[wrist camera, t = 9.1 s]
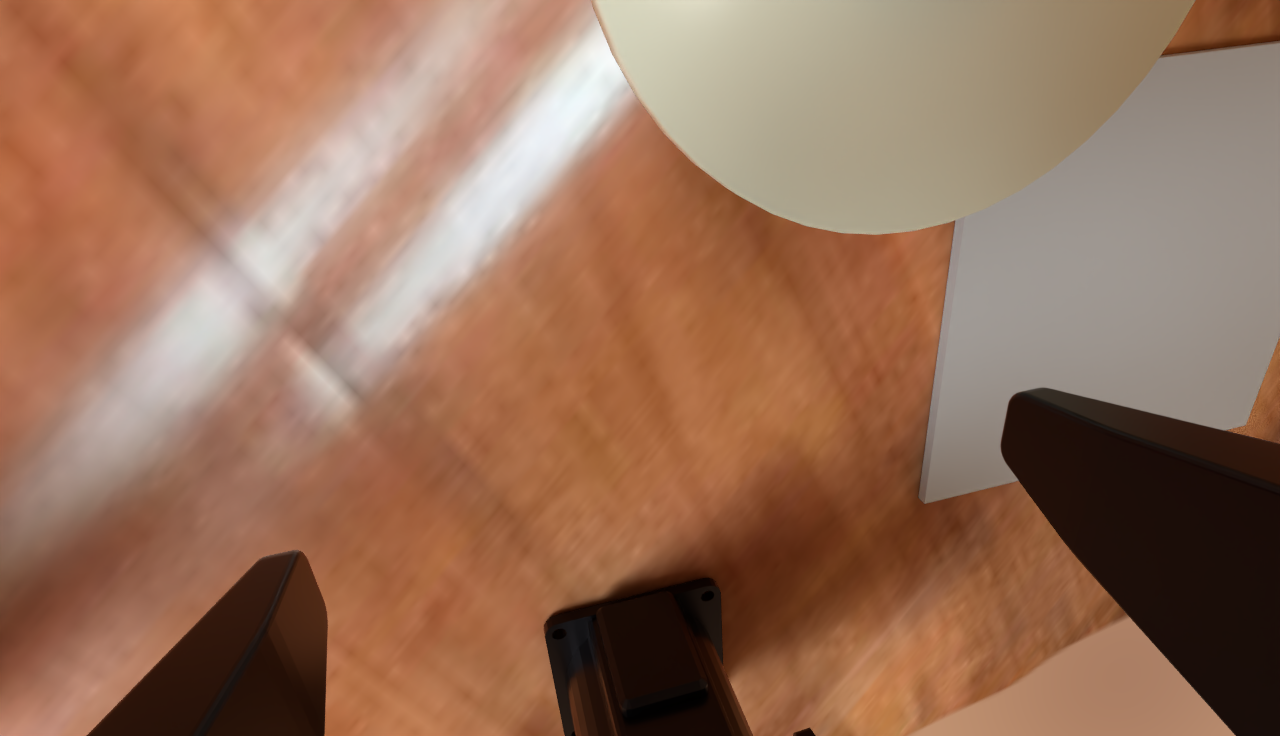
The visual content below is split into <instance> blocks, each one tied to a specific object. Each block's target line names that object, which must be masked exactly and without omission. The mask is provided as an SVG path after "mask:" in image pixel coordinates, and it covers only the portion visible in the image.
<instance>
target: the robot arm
mask: <svg viewBox="0 0 1280 736" xmlns="http://www.w3.org/2000/svg"><path fill="white" fill-rule="evenodd" d="M1000 447H1001V453H1002V457H1003V459H1004V461H1005V463H1006V464H1007V466H1008V467H1009V468H1010V470H1011V471H1012V472H1013V474H1014V475H1015V476H1016V478H1017V479H1018V480H1019V482H1020V483H1021V484H1022V486H1023V487H1024V488H1025V490H1026V491H1027V493H1028V494H1029V495H1030V497H1031V498H1032V499H1033V501H1034V502H1035V503H1036V505H1037V506H1038V507H1039V509H1040V510H1041V511H1042V513H1043V514H1044V516H1045V517H1046V518H1047V520H1048V521H1049V522H1050V524H1051V525H1052V526H1053V528H1054V529H1055V530H1056V532H1057V533H1058V534H1059V536H1060V537H1061V538H1062V540H1063V541H1064V542H1065V544H1066V545H1067V546H1068V547H1069V549H1070V550H1071V551H1072V553H1073V554H1074V555H1075V556H1076V557H1077V558H1078V560H1079V561H1080V562H1081V563H1082V564H1083V565H1084V567H1085V568H1086V569H1087V570H1088V571H1089V572H1090V573H1091V574H1092V576H1093V577H1094V578H1095V579H1096V580H1097V581H1098V582H1099V583H1100V585H1101V586H1102V587H1103V588H1104V589H1105V590H1106V591H1107V592H1108V593H1109V595H1110V596H1111V597H1112V598H1113V599H1114V600H1115V601H1116V602H1117V604H1118V605H1119V606H1120V607H1121V608H1122V609H1123V610H1124V611H1125V612H1126V614H1127V615H1128V616H1129V617H1130V618H1131V619H1132V620H1133V621H1134V622H1135V624H1136V625H1137V626H1138V627H1139V628H1140V629H1141V630H1142V631H1143V632H1144V634H1145V635H1146V636H1147V637H1148V638H1149V639H1150V640H1151V641H1152V643H1153V644H1154V645H1155V646H1156V647H1157V648H1158V649H1159V650H1160V652H1161V653H1162V654H1163V655H1164V656H1165V657H1166V658H1167V659H1168V660H1169V662H1170V663H1171V664H1172V665H1173V666H1174V667H1175V668H1176V669H1177V671H1179V673H1180V674H1181V675H1182V676H1183V677H1184V678H1185V679H1186V681H1187V682H1188V683H1189V684H1190V685H1191V686H1192V687H1193V688H1194V690H1195V691H1196V692H1197V693H1198V694H1199V695H1200V696H1201V697H1202V699H1203V700H1204V701H1205V702H1206V703H1207V704H1208V705H1209V706H1210V707H1211V709H1213V711H1214V712H1215V713H1216V714H1217V715H1218V716H1219V717H1220V719H1221V720H1222V721H1223V722H1224V723H1225V724H1226V725H1227V726H1228V728H1229V729H1230V730H1231V731H1232V732H1233V733H1234V734H1235V735H1236V736H1280V444H1278V443H1274V442H1270V441H1266V440H1262V439H1258V438H1254V437H1249V436H1245V435H1241V434H1237V433H1233V432H1229V431H1225V430H1220V429H1216V428H1212V427H1208V426H1204V425H1200V424H1196V423H1191V422H1187V421H1183V420H1179V419H1175V418H1171V417H1166V416H1162V415H1158V414H1154V413H1150V412H1146V411H1142V410H1137V409H1133V408H1129V407H1125V406H1121V405H1117V404H1113V403H1108V402H1104V401H1100V400H1096V399H1092V398H1088V397H1084V396H1079V395H1075V394H1071V393H1067V392H1063V391H1059V390H1055V389H1050V388H1045V387H1042V388H1035V389H1030V390H1026V391H1021V392H1018V393H1016V394H1014V395H1013V396H1012V397H1011V399H1010V400H1009V403H1008V407H1007V412H1006V417H1005V422H1004V427H1003V432H1002V438H1001V444H1000ZM706 591H708V592H707V593H705V594H703V593H704V592H706ZM327 629H328V621H327V611H326V606H325V603H324V600H323V597H322V595H321V592H320V590H319V587H318V585H317V582H316V579H315V577H314V574H313V572H312V569H311V567H310V564H309V562H308V559H307V557H306V556H305V555H304V553H303V552H301V551H299V550H292V551H288V552H283V553H278V554H274V555H269V556H265V557H263V558H261V559H259V560H258V561H257V562H256V563H255V564H254V565H253V566H252V567H251V568H250V569H249V570H248V571H247V572H246V573H245V574H244V575H243V576H242V577H241V578H240V579H239V580H238V581H237V582H236V583H235V584H234V585H233V586H232V587H231V589H230V590H229V591H228V592H227V593H226V594H225V595H224V596H223V597H222V598H221V599H220V600H219V601H218V602H217V603H216V604H215V605H214V606H213V607H212V608H211V609H210V610H209V611H208V612H207V613H206V614H205V615H204V616H203V617H202V618H201V619H200V620H199V621H198V622H197V623H196V624H195V625H194V626H193V627H192V628H191V629H190V630H189V631H188V633H187V634H186V635H185V636H184V637H183V638H182V639H181V640H180V641H179V642H178V643H177V644H176V645H175V646H174V647H173V648H172V649H171V650H170V651H169V652H168V653H167V654H166V655H165V656H164V657H163V658H162V659H161V660H160V661H159V662H158V663H157V664H156V665H155V666H154V667H153V668H152V669H151V670H150V671H149V672H148V673H147V674H146V675H145V676H144V678H143V679H142V680H141V681H140V682H139V683H138V684H137V685H136V686H135V687H134V688H133V689H132V690H131V691H130V692H129V693H128V694H127V695H126V696H125V697H124V698H123V699H122V700H121V701H120V702H119V703H118V704H117V705H116V706H115V707H114V708H113V709H112V710H111V711H110V712H109V713H108V714H107V715H106V716H105V717H104V718H103V719H102V720H101V722H100V723H99V724H98V725H97V726H96V727H95V728H94V729H93V730H92V731H91V732H90V733H89V734H88V735H87V736H324V734H325V700H326V664H327ZM557 629H561V630H559V631H555V630H557ZM544 634H545V639H546V644H547V649H548V654H549V659H550V664H551V669H552V674H553V679H554V684H555V689H556V694H557V699H558V704H559V709H560V714H561V719H562V724H563V729H564V734H565V736H753V734H752V732H751V730H750V727H749V725H748V723H747V720H746V718H745V716H744V714H743V711H742V709H741V707H740V704H739V702H738V700H737V697H736V695H735V693H734V691H733V688H732V686H731V684H730V681H729V679H728V677H727V674H726V672H725V670H724V668H723V649H722V619H721V592H720V589H719V587H718V585H717V583H716V581H714V580H713V579H711V578H704V579H700V580H696V581H692V582H688V583H684V584H680V585H676V586H672V587H668V588H664V589H660V590H656V591H652V592H648V593H644V594H640V595H636V596H632V597H628V598H624V599H620V600H616V601H612V602H608V603H604V604H600V605H596V606H592V607H588V608H584V609H580V610H576V611H572V612H568V613H564V614H560V615H556V616H553V617H551V618H550V619H548V620H547V621H546V623H545V624H544ZM793 736H815V734H814V733H813V731H812V730H811V729H810V728H807V729H804V730H801V731H798V732H795V733H793Z"/></svg>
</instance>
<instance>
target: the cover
mask: <svg viewBox="0 0 1280 736" xmlns="http://www.w3.org/2000/svg"><path fill="white" fill-rule="evenodd" d="M591 2H592V6H593V9H594V11H595V13H596V16H597V18H598V21H599V23H600V26H601V28H602V30H603V33H604V35H605V38H606V40H607V43H608V45H609V47H610V50H611V52H612V55H613V57H614V58H615V60H616V62H617V64H618V65H619V67H620V69H621V71H622V73H623V74H624V76H625V78H626V80H627V81H628V83H629V85H630V87H631V89H632V90H633V92H634V94H635V96H636V97H637V99H638V100H639V101H640V103H641V104H642V105H643V107H644V108H645V109H646V111H647V112H648V113H649V115H650V116H651V117H652V119H653V120H654V121H655V123H656V124H657V125H658V127H659V128H660V129H661V131H662V132H663V133H664V134H665V135H666V136H667V137H668V138H669V139H670V140H671V141H672V142H673V143H674V144H675V145H676V146H677V147H678V149H679V150H680V151H681V152H682V153H683V154H684V155H685V156H686V157H687V158H688V159H689V160H690V161H691V162H692V163H694V164H695V165H696V166H698V167H699V168H700V169H702V170H703V171H704V172H706V173H707V174H708V175H709V176H711V177H712V178H713V179H715V180H716V181H717V182H719V183H720V184H721V185H723V186H724V187H726V188H727V189H729V190H730V191H732V192H734V193H735V194H737V195H738V196H740V197H742V198H744V199H746V200H748V201H749V202H751V203H753V204H755V205H757V206H759V207H760V208H762V209H764V210H766V211H768V212H770V213H771V214H774V215H777V216H780V217H782V218H785V219H788V220H791V221H794V222H796V223H799V224H802V225H805V226H808V227H813V228H819V229H824V230H829V231H834V232H839V233H852V234H875V235H879V234H889V233H899V232H909V231H916V230H920V229H924V228H928V227H932V226H937V225H941V224H945V223H949V222H952V221H954V220H957V219H960V218H962V217H965V216H968V215H970V214H973V213H976V212H978V211H981V210H983V209H986V208H988V207H990V206H991V205H993V204H995V203H997V202H999V201H1001V200H1003V199H1005V198H1007V197H1009V196H1011V195H1013V194H1015V193H1017V192H1018V191H1020V190H1022V189H1023V188H1025V187H1026V186H1028V185H1029V184H1031V183H1032V182H1034V181H1035V180H1037V179H1038V178H1040V177H1041V176H1043V175H1044V174H1046V173H1047V172H1049V171H1050V170H1052V169H1053V168H1054V167H1056V166H1057V165H1058V164H1059V163H1060V162H1062V161H1063V160H1064V159H1065V158H1066V157H1068V156H1069V155H1070V154H1071V153H1073V152H1074V151H1075V150H1076V149H1077V148H1079V147H1080V146H1081V145H1082V144H1084V143H1085V142H1086V141H1087V140H1088V139H1089V138H1090V137H1091V136H1092V135H1093V134H1094V133H1095V132H1096V131H1097V130H1098V129H1099V128H1100V127H1101V126H1102V125H1103V124H1104V123H1105V122H1106V121H1107V120H1108V119H1109V118H1110V117H1111V116H1112V115H1113V114H1114V113H1115V112H1116V111H1117V110H1118V109H1119V108H1120V106H1121V105H1122V104H1123V103H1124V102H1125V100H1126V99H1127V98H1128V97H1129V96H1130V94H1131V93H1132V92H1133V91H1134V90H1135V89H1136V87H1137V86H1138V85H1139V84H1140V83H1141V81H1142V80H1143V79H1144V78H1145V77H1146V75H1147V74H1148V73H1149V71H1150V70H1151V68H1152V67H1153V66H1154V64H1155V63H1156V61H1157V60H1158V59H1159V57H1160V56H1161V54H1162V53H1163V51H1164V50H1165V49H1166V47H1167V46H1168V44H1169V43H1170V42H1171V40H1172V39H1173V37H1174V36H1175V34H1176V33H1177V31H1178V29H1179V27H1180V26H1181V24H1182V22H1183V21H1184V19H1185V17H1186V16H1187V14H1188V12H1189V11H1190V9H1191V7H1192V6H1193V4H1194V2H1195V0H591Z"/></svg>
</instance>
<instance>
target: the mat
mask: <svg viewBox="0 0 1280 736" xmlns="http://www.w3.org/2000/svg"><path fill="white" fill-rule="evenodd" d="M1279 337H1280V41H1274V42H1266V43H1258V44H1250V45H1242V46H1234V47H1226V48H1218V49H1210V50H1202V51H1194V52H1186V53H1178V54H1170V55H1162V56H1160V57H1159V59H1158V60H1157V61H1156V63H1155V64H1154V66H1153V67H1152V68H1151V70H1150V71H1149V73H1148V74H1147V75H1146V77H1145V78H1144V79H1143V80H1142V81H1141V83H1140V84H1139V85H1138V86H1137V87H1136V89H1135V90H1134V91H1133V92H1132V93H1131V94H1130V96H1129V97H1128V98H1127V99H1126V100H1125V102H1124V103H1123V104H1122V105H1121V106H1120V108H1119V109H1118V110H1117V111H1116V112H1115V113H1114V114H1113V115H1112V116H1111V117H1110V118H1109V119H1108V120H1107V121H1106V122H1105V123H1104V124H1103V125H1102V126H1101V127H1100V128H1099V129H1098V130H1097V131H1096V132H1095V133H1094V134H1093V135H1092V136H1091V137H1090V138H1089V139H1088V140H1087V141H1086V142H1085V143H1084V144H1082V145H1081V146H1080V147H1079V148H1077V149H1076V150H1075V151H1074V152H1073V153H1071V154H1070V155H1069V156H1068V157H1066V158H1065V159H1064V160H1063V161H1062V162H1060V163H1059V164H1058V165H1057V166H1056V167H1054V168H1053V169H1052V170H1050V171H1049V172H1047V173H1046V174H1044V175H1043V176H1041V177H1040V178H1038V179H1037V180H1035V181H1034V182H1032V183H1031V184H1029V185H1028V186H1026V187H1025V188H1023V189H1022V190H1020V191H1018V192H1017V193H1015V194H1013V195H1011V196H1009V197H1007V198H1005V199H1003V200H1001V201H999V202H997V203H995V204H993V205H991V206H990V207H988V208H986V209H983V210H981V211H978V212H976V213H973V214H970V215H968V216H965V217H962V218H960V219H957V220H956V221H955V228H954V236H953V243H952V251H951V258H950V265H949V273H948V280H947V288H946V295H945V303H944V310H943V318H942V325H941V332H940V340H939V347H938V355H937V362H936V370H935V377H934V385H933V392H932V400H931V407H930V414H929V422H928V429H927V437H926V444H925V452H924V459H923V467H922V474H921V482H920V489H919V496H918V498H919V499H920V500H921V501H922V502H923V503H924V504H926V503H930V502H935V501H939V500H943V499H947V498H951V497H955V496H959V495H963V494H967V493H971V492H975V491H979V490H983V489H988V488H992V487H996V486H1000V485H1004V484H1008V483H1012V482H1016V481H1019V480H1018V479H1017V478H1016V476H1015V475H1014V474H1013V472H1012V471H1011V470H1010V468H1009V467H1008V466H1007V464H1006V463H1005V461H1004V459H1003V457H1002V453H1001V447H1000V444H1001V438H1002V432H1003V427H1004V422H1005V417H1006V412H1007V407H1008V403H1009V400H1010V399H1011V397H1012V396H1013V395H1014V394H1016V393H1018V392H1021V391H1026V390H1030V389H1035V388H1042V387H1045V388H1050V389H1055V390H1059V391H1063V392H1067V393H1071V394H1075V395H1079V396H1084V397H1088V398H1092V399H1096V400H1100V401H1104V402H1108V403H1113V404H1117V405H1121V406H1125V407H1129V408H1133V409H1137V410H1142V411H1146V412H1150V413H1154V414H1158V415H1162V416H1166V417H1171V418H1175V419H1179V420H1183V421H1187V422H1191V423H1196V424H1200V425H1204V426H1208V427H1212V428H1216V429H1220V430H1228V429H1232V428H1236V427H1241V426H1245V425H1246V423H1247V421H1248V418H1249V415H1250V413H1251V410H1252V408H1253V405H1254V402H1255V400H1256V397H1257V395H1258V392H1259V389H1260V387H1261V384H1262V381H1263V379H1264V376H1265V374H1266V371H1267V368H1268V366H1269V363H1270V361H1271V358H1272V355H1273V353H1274V350H1275V348H1276V345H1277V342H1278V340H1279Z"/></svg>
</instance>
